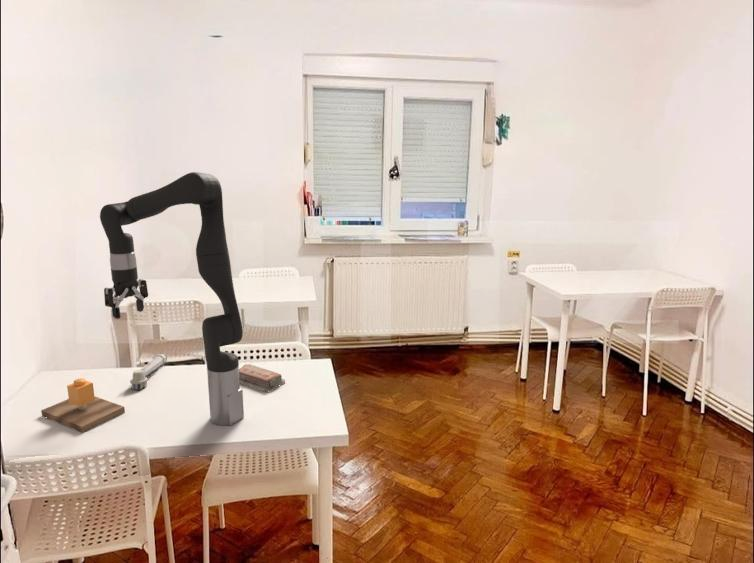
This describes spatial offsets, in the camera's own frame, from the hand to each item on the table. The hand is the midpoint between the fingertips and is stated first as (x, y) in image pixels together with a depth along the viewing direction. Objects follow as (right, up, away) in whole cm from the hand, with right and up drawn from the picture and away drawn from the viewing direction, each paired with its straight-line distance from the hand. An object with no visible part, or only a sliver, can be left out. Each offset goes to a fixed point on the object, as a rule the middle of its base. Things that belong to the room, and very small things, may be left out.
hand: (128, 314), depth 172 cm
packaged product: (+38, -26, +18) cm, 49 cm away
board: (-11, -31, -7) cm, 33 cm away
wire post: (-11, -29, -8) cm, 32 cm away
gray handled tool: (-2, -24, +21) cm, 32 cm away
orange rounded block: (-10, -26, -9) cm, 30 cm away
